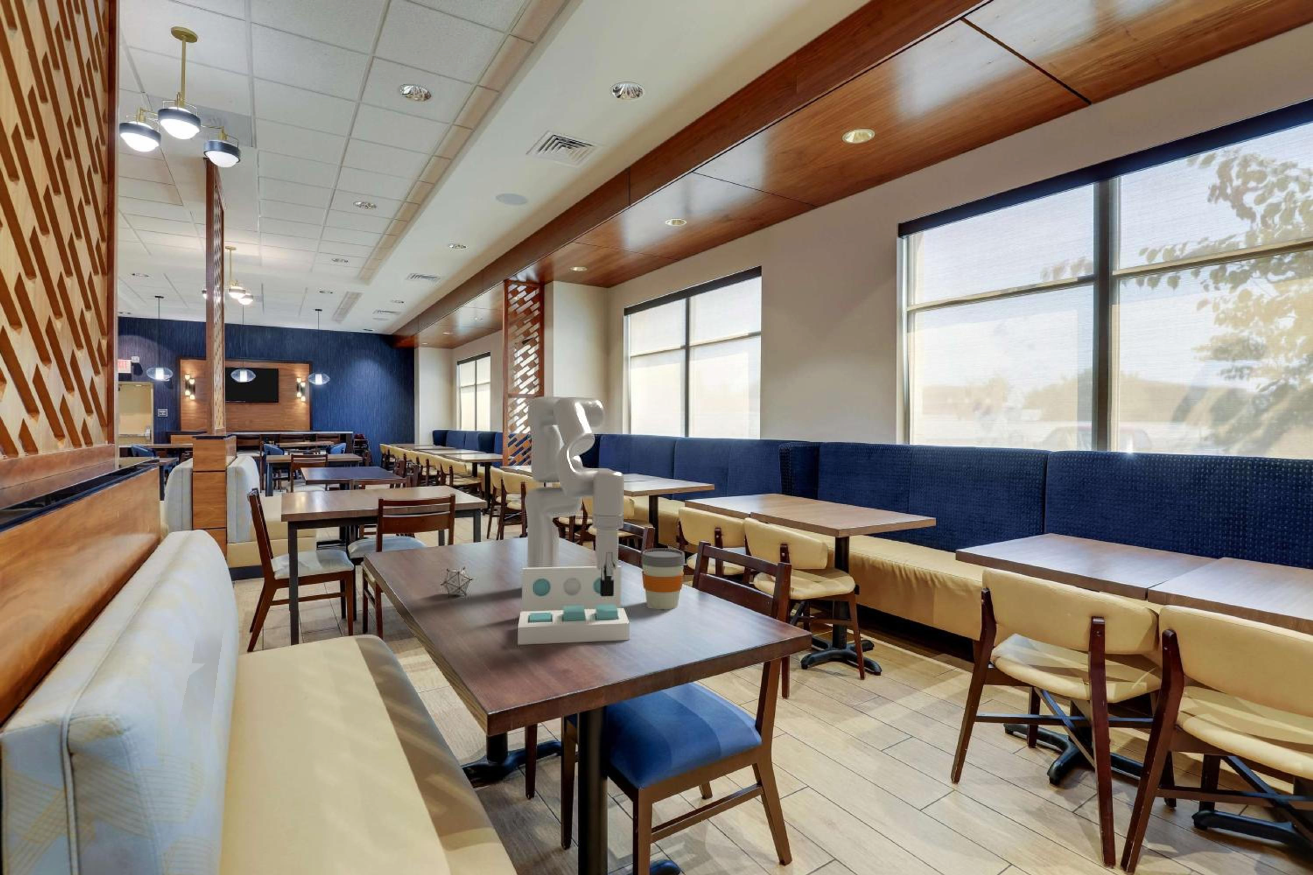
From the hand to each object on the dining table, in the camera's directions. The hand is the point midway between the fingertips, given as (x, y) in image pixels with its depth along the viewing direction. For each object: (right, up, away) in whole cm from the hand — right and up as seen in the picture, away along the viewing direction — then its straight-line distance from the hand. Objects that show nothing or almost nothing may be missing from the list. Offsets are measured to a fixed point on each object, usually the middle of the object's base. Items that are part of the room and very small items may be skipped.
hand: (606, 595), depth 150 cm
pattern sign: (-10, -9, +13) cm, 19 cm away
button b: (-8, -7, -1) cm, 10 cm away
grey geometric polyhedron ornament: (-47, -8, +30) cm, 56 cm away
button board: (-8, -9, -1) cm, 12 cm away
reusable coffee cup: (+14, -9, +24) cm, 29 cm away
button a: (-16, -8, -3) cm, 18 cm away
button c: (0, -7, 0) cm, 7 cm away
